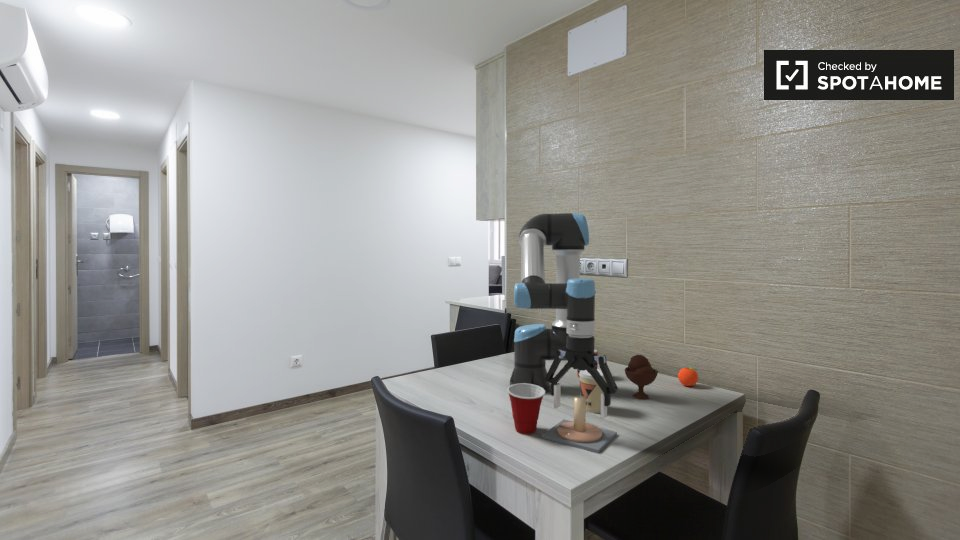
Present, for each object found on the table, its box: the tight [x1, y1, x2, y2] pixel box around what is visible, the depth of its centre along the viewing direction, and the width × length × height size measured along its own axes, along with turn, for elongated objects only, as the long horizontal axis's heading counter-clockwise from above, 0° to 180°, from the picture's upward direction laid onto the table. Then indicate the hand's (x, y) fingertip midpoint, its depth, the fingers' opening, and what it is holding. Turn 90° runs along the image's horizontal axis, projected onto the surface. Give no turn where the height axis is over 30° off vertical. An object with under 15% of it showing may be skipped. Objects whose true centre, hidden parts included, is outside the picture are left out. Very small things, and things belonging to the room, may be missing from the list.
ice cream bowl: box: [624, 354, 659, 400], centre depth 156 cm, size 11×11×15 cm
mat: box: [541, 419, 618, 454], centre depth 123 cm, size 16×14×1 cm
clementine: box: [677, 366, 699, 387], centre depth 169 cm, size 8×7×7 cm
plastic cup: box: [506, 383, 546, 435], centre depth 127 cm, size 11×11×12 cm
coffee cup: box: [579, 368, 607, 414], centre depth 144 cm, size 9×9×12 cm
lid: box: [557, 395, 602, 443], centre depth 123 cm, size 12×12×10 cm
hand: (579, 412), depth 123 cm, fingers open, 13 cm apart
